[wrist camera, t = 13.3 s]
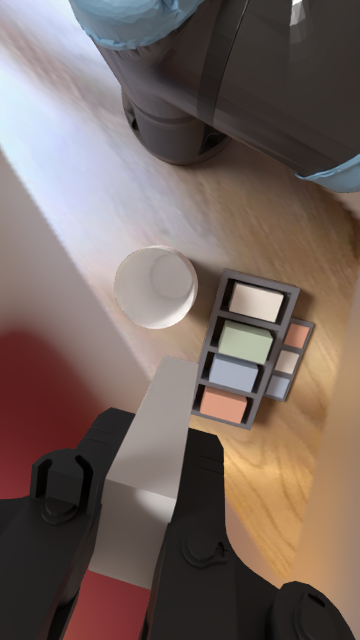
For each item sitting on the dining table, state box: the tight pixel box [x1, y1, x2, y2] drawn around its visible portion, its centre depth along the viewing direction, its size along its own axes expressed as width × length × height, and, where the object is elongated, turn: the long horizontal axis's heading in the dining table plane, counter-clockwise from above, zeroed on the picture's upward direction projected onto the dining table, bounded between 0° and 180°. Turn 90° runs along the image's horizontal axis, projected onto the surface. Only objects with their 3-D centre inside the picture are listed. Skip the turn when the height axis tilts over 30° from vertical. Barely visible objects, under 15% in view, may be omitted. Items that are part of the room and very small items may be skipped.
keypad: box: [191, 268, 300, 430], centre depth 41 cm, size 22×10×4 cm, turn 167°
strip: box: [263, 317, 314, 402], centre depth 42 cm, size 13×4×1 cm, turn 167°
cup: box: [114, 245, 198, 329], centre depth 36 cm, size 9×9×12 cm
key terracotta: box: [200, 385, 247, 424], centre depth 43 cm, size 4×6×4 cm, turn 77°
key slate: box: [209, 353, 258, 393], centre depth 41 cm, size 4×6×4 cm, turn 77°
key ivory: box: [228, 281, 283, 322], centre depth 38 cm, size 4×6×4 cm, turn 77°
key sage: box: [219, 320, 273, 364], centre depth 38 cm, size 4×6×4 cm, turn 77°
